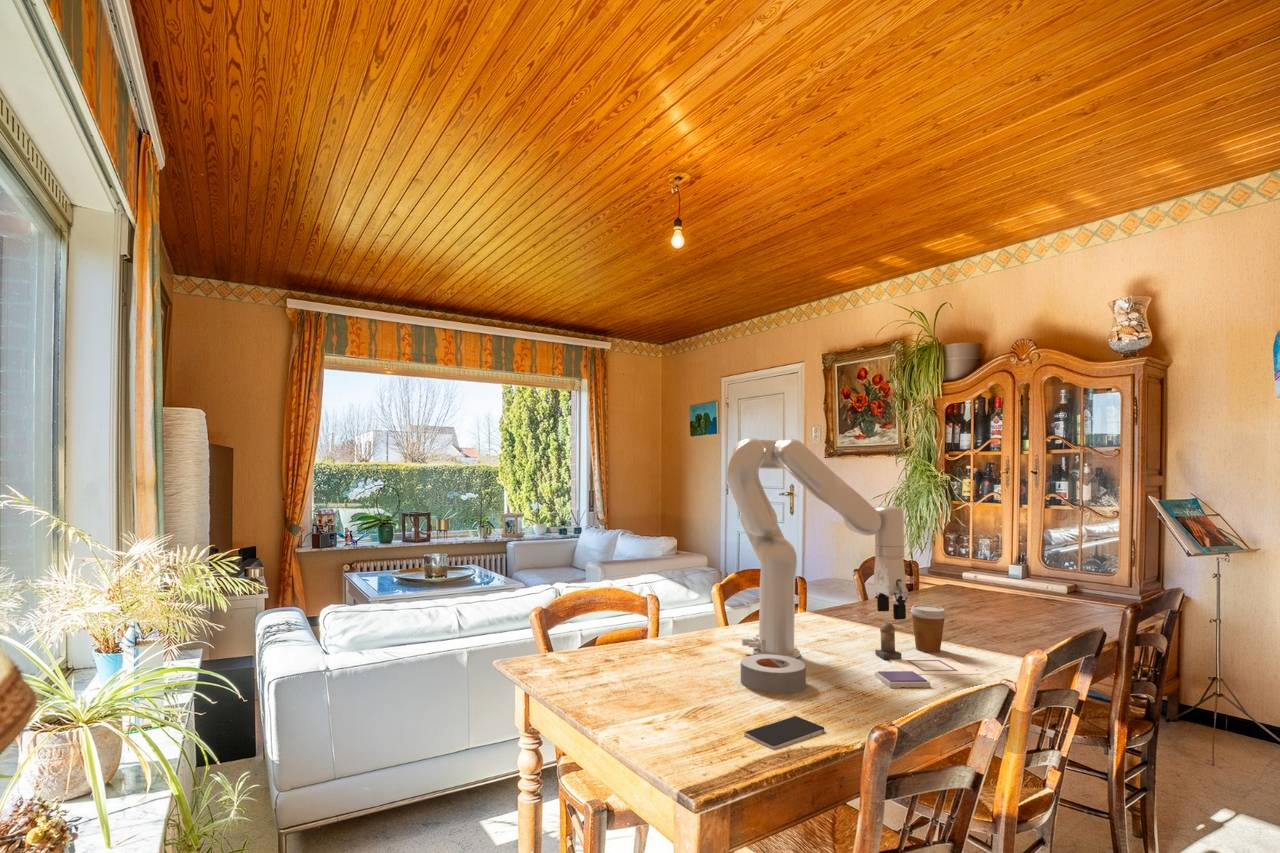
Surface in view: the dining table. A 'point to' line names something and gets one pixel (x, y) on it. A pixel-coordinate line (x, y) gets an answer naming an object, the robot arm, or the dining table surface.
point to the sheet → (932, 666)
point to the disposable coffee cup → (928, 627)
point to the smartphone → (784, 732)
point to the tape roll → (773, 674)
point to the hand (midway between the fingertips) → (891, 615)
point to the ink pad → (901, 679)
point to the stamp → (887, 643)
